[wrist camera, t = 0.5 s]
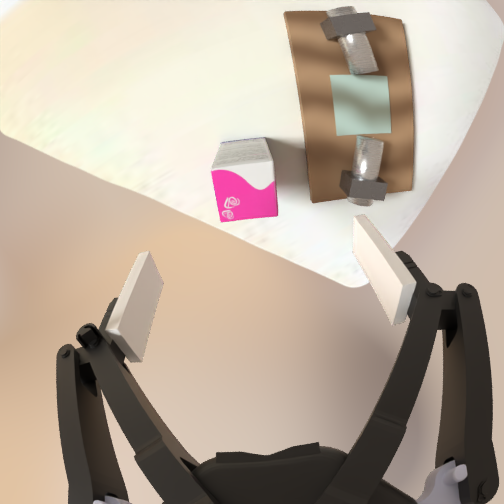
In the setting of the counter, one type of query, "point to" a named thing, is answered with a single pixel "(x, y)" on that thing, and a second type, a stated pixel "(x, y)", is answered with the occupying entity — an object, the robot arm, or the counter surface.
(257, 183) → the supplement box
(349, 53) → the grey collared shaft
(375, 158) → the shaft
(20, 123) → the counter surface
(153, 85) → the counter surface
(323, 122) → the board
